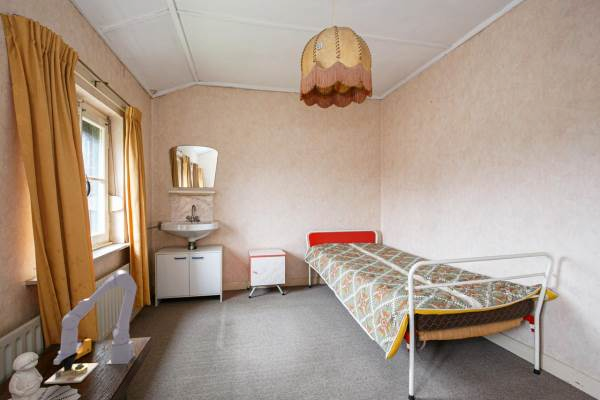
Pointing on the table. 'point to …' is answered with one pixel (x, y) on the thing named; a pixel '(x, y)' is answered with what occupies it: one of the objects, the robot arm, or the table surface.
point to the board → (70, 377)
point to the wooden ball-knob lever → (72, 371)
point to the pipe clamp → (84, 348)
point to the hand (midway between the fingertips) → (67, 371)
